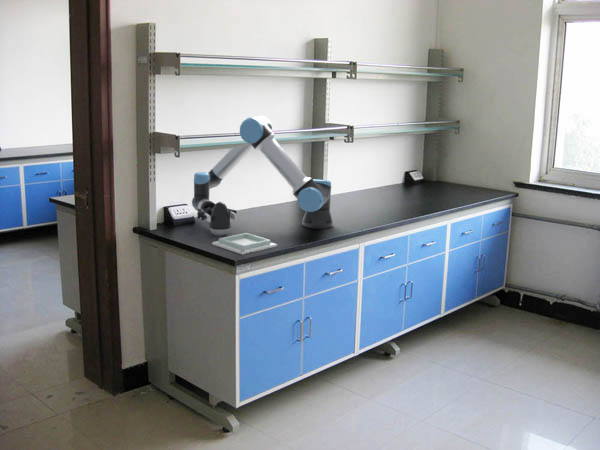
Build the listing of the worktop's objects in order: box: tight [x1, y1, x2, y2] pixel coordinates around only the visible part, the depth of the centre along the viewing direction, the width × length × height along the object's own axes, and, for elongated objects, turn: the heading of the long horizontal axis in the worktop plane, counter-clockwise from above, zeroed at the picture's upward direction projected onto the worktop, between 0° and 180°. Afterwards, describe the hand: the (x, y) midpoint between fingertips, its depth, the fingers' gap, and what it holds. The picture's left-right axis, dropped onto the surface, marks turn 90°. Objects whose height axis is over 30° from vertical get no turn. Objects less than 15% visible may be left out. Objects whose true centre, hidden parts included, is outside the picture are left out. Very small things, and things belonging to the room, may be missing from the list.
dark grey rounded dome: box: [208, 201, 232, 237], centre depth 305 cm, size 10×10×15 cm
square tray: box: [211, 232, 278, 255], centre depth 289 cm, size 20×20×4 cm
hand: (222, 218), depth 301 cm, fingers open, 12 cm apart
